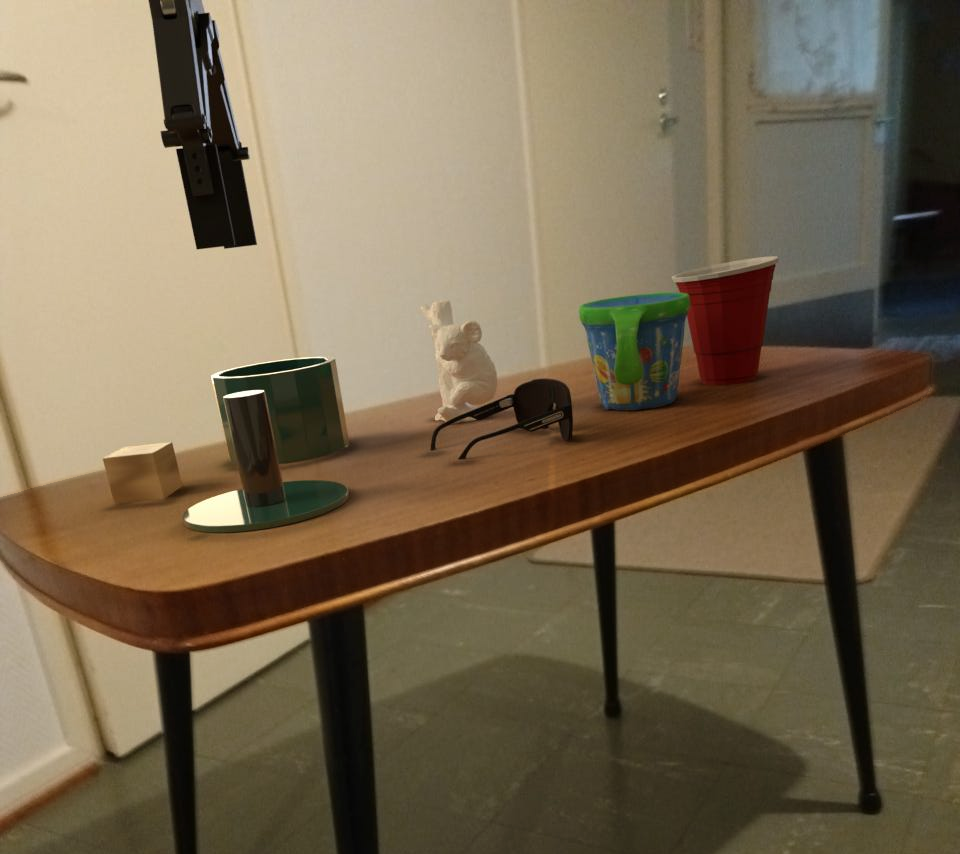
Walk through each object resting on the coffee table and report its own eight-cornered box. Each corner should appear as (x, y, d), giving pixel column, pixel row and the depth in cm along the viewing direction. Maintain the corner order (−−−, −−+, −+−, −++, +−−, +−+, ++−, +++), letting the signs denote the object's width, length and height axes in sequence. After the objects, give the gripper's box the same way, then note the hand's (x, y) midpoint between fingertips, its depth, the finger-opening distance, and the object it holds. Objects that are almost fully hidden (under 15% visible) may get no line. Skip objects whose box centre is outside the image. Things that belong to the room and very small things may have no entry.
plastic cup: (665, 381, 111) (660, 268, 106) (760, 368, 111) (759, 255, 106) (689, 395, 100) (685, 271, 96) (794, 381, 101) (794, 257, 96)
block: (115, 510, 82) (102, 458, 81) (136, 496, 86) (123, 446, 85) (165, 505, 82) (152, 452, 80) (184, 491, 86) (172, 441, 84)
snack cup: (678, 419, 90) (674, 302, 86) (567, 424, 94) (558, 313, 90) (704, 388, 103) (701, 286, 99) (606, 394, 107) (599, 296, 103)
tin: (215, 476, 90) (194, 382, 87) (250, 450, 101) (233, 365, 98) (335, 464, 89) (319, 368, 86) (359, 439, 99) (345, 352, 96)
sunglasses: (595, 439, 85) (584, 382, 83) (475, 486, 81) (461, 427, 79) (534, 426, 94) (523, 374, 92) (424, 467, 90) (410, 414, 88)
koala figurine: (415, 423, 104) (398, 305, 99) (467, 411, 107) (453, 295, 103) (458, 430, 97) (442, 303, 93) (513, 417, 101) (500, 294, 96)
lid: (160, 547, 69) (127, 418, 66) (216, 501, 81) (191, 389, 77) (331, 531, 68) (307, 398, 64) (364, 487, 79) (344, 372, 76)
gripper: (188, -148, 58) (259, 240, 66) (242, -36, 81) (290, 241, 89) (59, -135, 57) (146, 254, 65) (150, -26, 80) (207, 251, 88)
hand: (229, 247), depth 77 cm, fingers open, 13 cm apart
